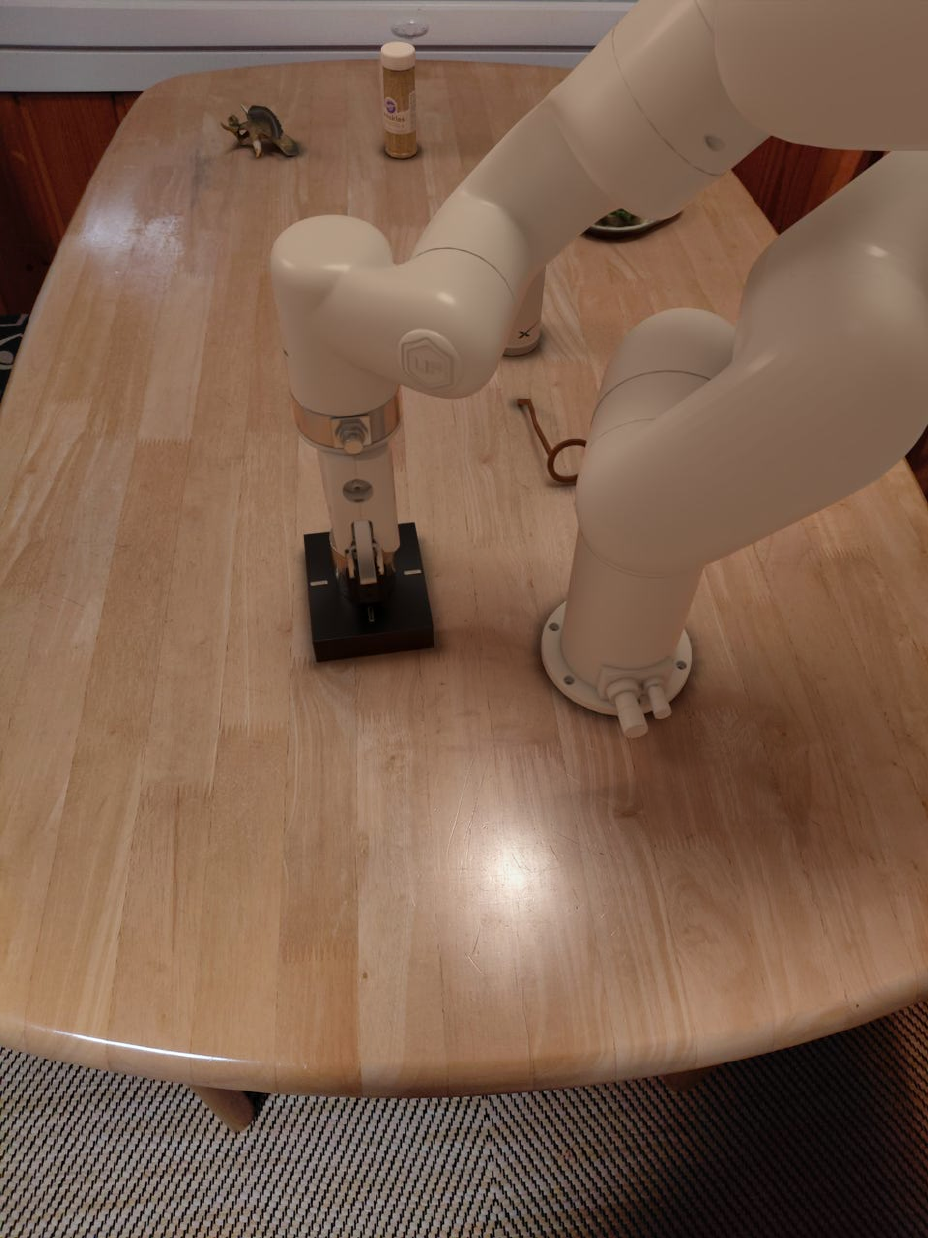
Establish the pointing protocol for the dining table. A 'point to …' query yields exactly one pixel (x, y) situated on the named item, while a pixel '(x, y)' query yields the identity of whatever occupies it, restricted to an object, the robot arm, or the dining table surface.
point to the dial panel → (368, 605)
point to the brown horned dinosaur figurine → (261, 129)
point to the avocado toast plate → (619, 225)
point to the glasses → (549, 451)
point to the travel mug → (528, 320)
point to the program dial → (342, 562)
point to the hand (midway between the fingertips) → (365, 570)
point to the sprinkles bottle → (399, 98)
